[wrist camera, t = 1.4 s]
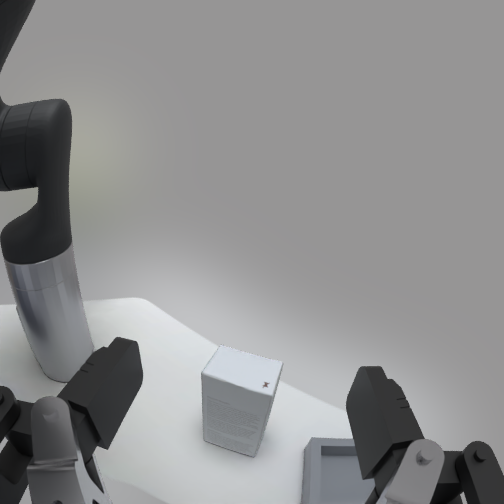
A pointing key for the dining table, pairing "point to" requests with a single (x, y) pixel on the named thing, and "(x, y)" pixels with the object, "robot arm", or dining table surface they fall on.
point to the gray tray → (333, 473)
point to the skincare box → (238, 398)
